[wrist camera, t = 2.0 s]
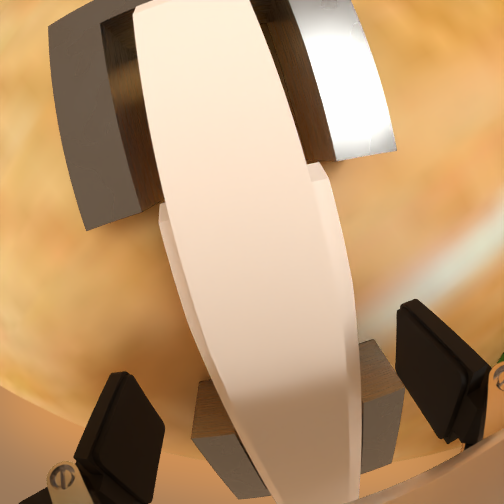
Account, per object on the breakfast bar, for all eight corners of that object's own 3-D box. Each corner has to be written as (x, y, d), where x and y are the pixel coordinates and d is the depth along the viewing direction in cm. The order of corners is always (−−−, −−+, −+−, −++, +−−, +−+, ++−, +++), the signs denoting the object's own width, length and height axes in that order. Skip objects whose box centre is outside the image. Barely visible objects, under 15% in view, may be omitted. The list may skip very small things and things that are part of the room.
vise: (303, -3, 11) (324, -51, 7) (372, 420, 21) (391, 463, 16) (94, 54, 12) (48, 26, 7) (237, 453, 21) (238, 499, 16)
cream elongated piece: (272, 436, 21) (281, 563, 8) (184, 121, 18) (98, 12, 6) (337, 420, 21) (381, 540, 8) (262, 100, 18) (270, -37, 6)
